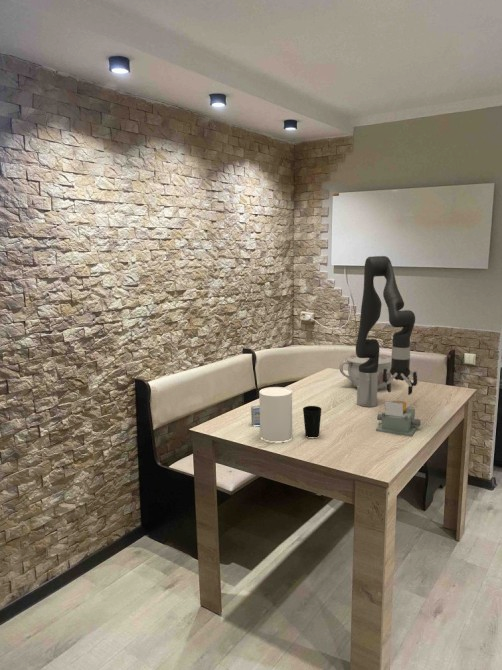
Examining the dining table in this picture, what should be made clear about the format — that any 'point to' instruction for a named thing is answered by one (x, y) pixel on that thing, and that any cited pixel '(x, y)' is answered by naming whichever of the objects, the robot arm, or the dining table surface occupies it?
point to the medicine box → (255, 415)
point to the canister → (275, 413)
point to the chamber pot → (355, 362)
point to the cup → (312, 420)
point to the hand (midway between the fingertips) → (399, 393)
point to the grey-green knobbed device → (399, 423)
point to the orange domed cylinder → (403, 405)
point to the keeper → (394, 409)
